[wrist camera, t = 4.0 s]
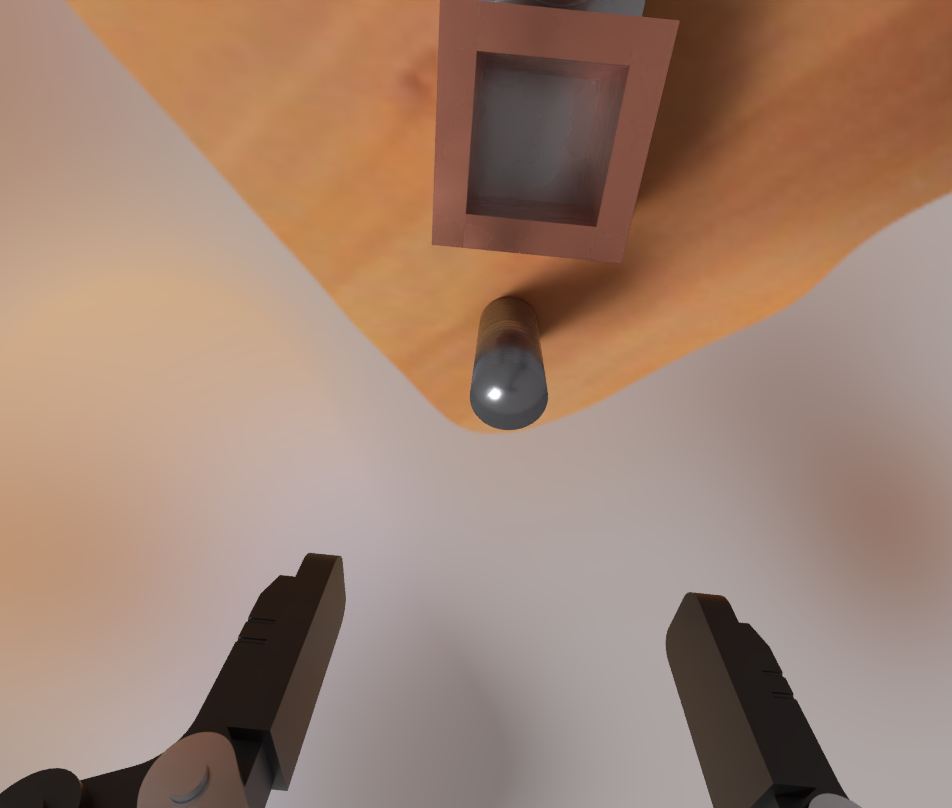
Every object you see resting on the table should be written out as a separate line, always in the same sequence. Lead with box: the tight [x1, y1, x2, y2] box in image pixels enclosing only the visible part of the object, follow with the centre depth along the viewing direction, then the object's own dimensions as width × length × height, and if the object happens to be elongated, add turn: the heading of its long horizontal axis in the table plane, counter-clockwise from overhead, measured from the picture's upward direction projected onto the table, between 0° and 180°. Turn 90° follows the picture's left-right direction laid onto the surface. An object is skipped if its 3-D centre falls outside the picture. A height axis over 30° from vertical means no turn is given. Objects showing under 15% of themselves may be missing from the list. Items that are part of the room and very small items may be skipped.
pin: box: [470, 297, 548, 430], centre depth 23 cm, size 3×3×8 cm
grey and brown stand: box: [432, 0, 680, 263], centre depth 13 cm, size 7×13×17 cm, turn 175°
